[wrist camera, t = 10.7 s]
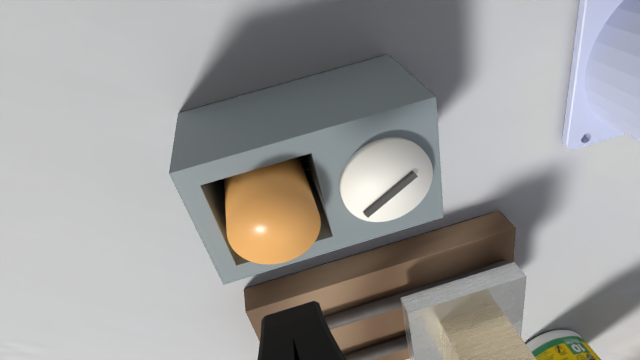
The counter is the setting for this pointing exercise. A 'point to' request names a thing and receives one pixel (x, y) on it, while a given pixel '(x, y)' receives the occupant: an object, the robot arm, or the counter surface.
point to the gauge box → (317, 156)
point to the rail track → (385, 284)
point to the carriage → (469, 318)
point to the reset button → (271, 213)
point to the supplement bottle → (561, 346)
